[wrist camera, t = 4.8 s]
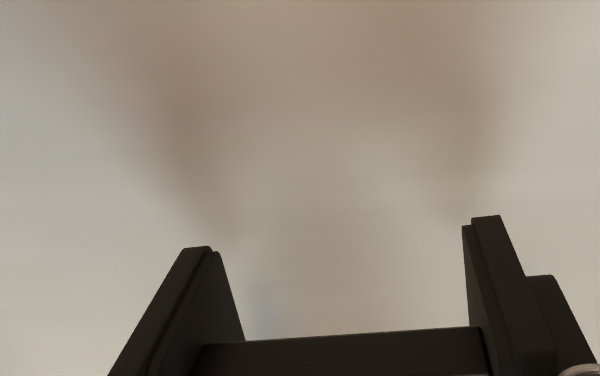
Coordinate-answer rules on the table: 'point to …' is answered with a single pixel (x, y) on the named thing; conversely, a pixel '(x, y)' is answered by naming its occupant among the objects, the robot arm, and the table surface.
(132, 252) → the table surface
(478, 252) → the robot arm
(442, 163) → the table surface
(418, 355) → the lever
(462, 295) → the table surface
